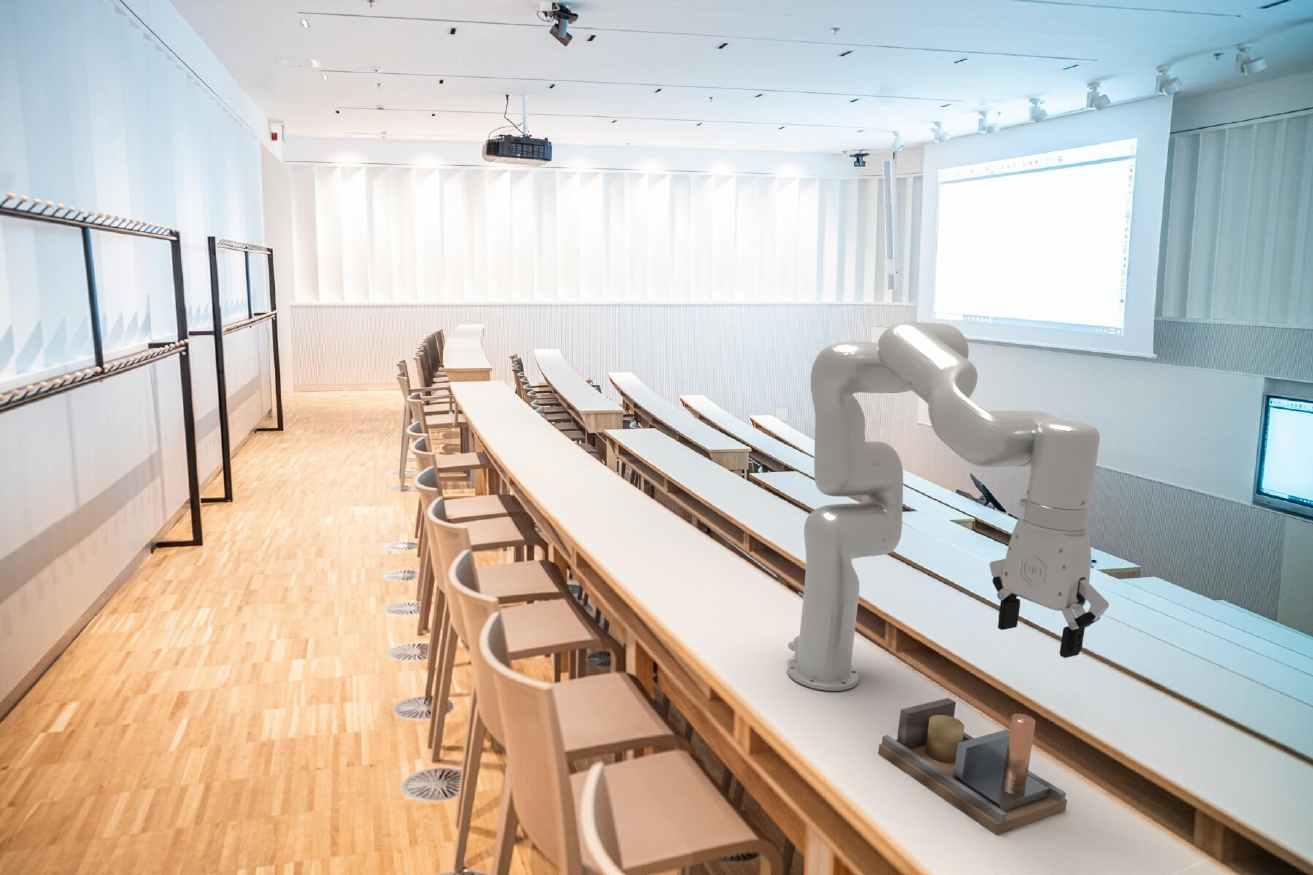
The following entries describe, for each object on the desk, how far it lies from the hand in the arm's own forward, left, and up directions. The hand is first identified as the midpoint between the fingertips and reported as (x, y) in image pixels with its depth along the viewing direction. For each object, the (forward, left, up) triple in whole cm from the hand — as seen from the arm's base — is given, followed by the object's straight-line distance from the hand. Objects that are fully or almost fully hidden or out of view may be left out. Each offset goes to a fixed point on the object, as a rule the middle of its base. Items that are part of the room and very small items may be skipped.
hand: (1037, 641), depth 121 cm
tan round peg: (-13, 0, -23) cm, 26 cm away
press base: (-9, 0, -24) cm, 26 cm away
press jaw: (-2, 0, -23) cm, 23 cm away
